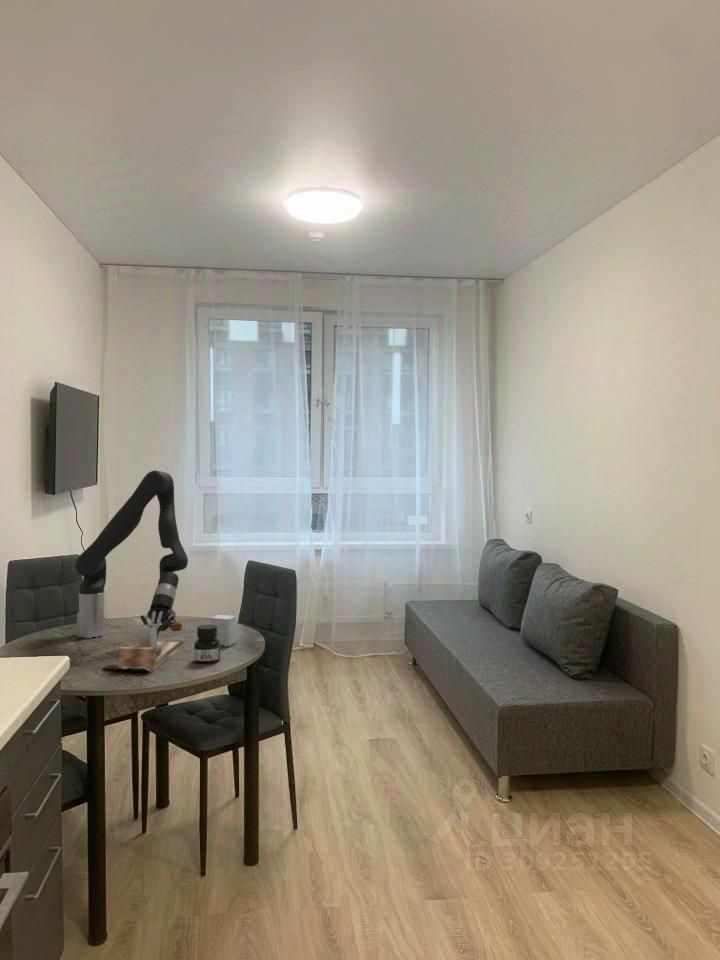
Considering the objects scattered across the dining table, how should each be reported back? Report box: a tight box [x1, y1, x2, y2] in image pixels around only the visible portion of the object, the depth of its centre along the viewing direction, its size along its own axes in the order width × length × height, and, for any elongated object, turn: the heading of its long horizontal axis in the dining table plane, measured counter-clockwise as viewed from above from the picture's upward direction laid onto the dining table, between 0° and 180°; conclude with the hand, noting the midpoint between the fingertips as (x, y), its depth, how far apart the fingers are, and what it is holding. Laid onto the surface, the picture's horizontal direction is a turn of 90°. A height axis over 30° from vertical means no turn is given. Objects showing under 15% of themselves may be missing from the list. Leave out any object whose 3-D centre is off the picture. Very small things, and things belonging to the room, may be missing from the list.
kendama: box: [165, 609, 183, 631], centre depth 301 cm, size 6×6×20 cm
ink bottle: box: [193, 623, 221, 665], centre depth 249 cm, size 10×9×12 cm
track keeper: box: [138, 624, 161, 658], centre depth 248 cm, size 7×6×10 cm
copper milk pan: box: [117, 640, 185, 673], centre depth 253 cm, size 12×32×8 cm, turn 176°
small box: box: [210, 614, 237, 647], centre depth 271 cm, size 8×6×10 cm
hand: (152, 640), depth 252 cm, fingers closed
